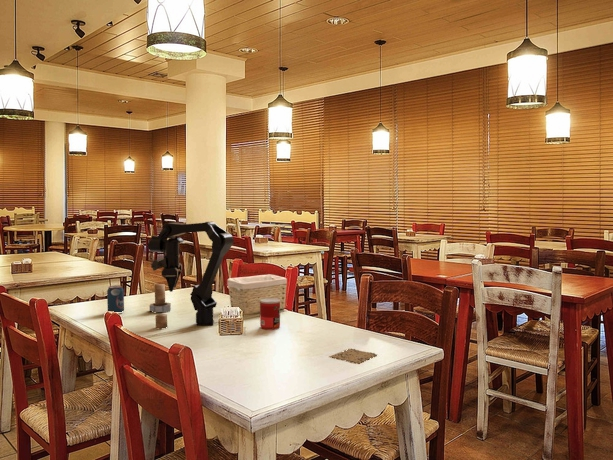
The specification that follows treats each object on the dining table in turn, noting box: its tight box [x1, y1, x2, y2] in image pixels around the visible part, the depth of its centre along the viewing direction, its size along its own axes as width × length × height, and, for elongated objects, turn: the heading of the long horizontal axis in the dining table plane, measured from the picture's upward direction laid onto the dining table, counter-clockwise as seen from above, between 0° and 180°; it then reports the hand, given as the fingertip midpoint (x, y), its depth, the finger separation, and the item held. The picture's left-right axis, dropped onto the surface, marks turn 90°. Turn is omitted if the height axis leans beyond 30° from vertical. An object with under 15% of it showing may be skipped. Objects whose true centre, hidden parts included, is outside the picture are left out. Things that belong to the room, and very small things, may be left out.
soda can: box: [106, 284, 125, 312], centre depth 235 cm, size 7×7×12 cm
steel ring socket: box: [149, 301, 172, 313], centre depth 240 cm, size 9×9×3 cm
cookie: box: [328, 348, 378, 365], centre depth 173 cm, size 12×12×1 cm
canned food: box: [259, 298, 281, 331], centre depth 210 cm, size 8×8×11 cm
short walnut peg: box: [155, 313, 168, 329], centre depth 209 cm, size 4×4×5 cm
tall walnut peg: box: [154, 283, 166, 306], centre depth 239 cm, size 4×4×12 cm
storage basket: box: [226, 273, 288, 315], centre depth 242 cm, size 24×16×15 cm
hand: (172, 289), depth 221 cm, fingers open, 9 cm apart
